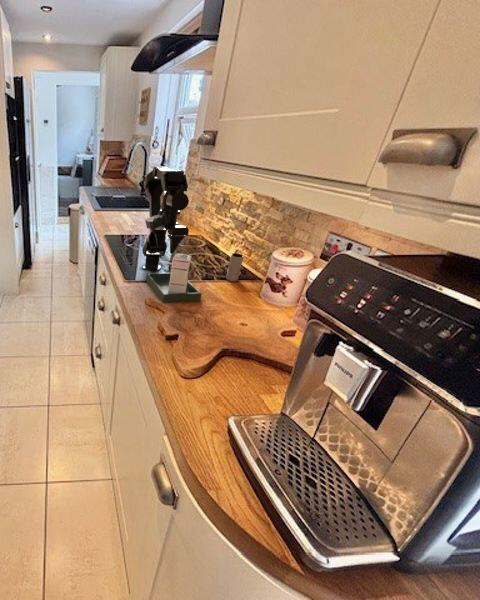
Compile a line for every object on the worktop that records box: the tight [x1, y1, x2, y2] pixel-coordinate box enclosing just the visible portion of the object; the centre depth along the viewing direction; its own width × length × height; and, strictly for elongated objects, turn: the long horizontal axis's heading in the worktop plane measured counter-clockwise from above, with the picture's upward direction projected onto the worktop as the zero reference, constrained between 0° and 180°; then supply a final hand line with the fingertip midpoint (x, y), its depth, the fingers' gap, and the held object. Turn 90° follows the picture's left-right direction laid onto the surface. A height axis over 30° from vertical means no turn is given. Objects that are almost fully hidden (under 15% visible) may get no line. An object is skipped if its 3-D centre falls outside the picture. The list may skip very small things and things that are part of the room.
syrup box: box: [168, 252, 192, 294], centre depth 114 cm, size 6×6×14 cm
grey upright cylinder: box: [225, 253, 245, 282], centre depth 130 cm, size 4×4×10 cm
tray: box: [145, 272, 202, 303], centre depth 121 cm, size 20×14×3 cm
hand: (165, 250), depth 122 cm, fingers open, 9 cm apart
